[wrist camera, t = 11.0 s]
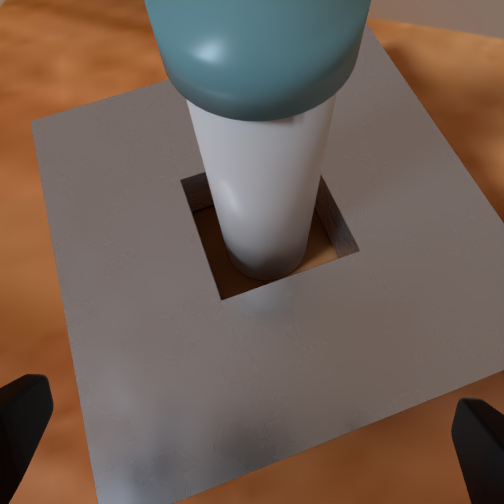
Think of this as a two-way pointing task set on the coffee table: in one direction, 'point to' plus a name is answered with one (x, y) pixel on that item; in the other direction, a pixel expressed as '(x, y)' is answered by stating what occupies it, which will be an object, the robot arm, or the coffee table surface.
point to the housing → (262, 288)
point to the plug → (261, 110)
